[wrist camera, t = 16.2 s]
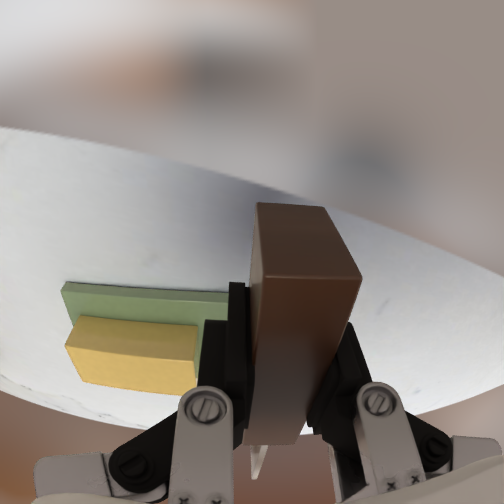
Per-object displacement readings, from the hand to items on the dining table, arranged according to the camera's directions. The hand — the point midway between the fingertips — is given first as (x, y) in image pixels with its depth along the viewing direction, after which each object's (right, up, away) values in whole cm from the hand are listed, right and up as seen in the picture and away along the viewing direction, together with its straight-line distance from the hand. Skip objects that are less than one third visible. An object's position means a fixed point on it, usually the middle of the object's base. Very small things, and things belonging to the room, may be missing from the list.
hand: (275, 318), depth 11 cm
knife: (0, -3, +2) cm, 3 cm away
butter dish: (-6, -3, +10) cm, 12 cm away
